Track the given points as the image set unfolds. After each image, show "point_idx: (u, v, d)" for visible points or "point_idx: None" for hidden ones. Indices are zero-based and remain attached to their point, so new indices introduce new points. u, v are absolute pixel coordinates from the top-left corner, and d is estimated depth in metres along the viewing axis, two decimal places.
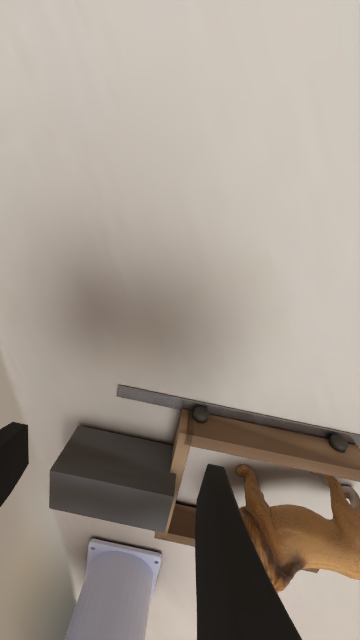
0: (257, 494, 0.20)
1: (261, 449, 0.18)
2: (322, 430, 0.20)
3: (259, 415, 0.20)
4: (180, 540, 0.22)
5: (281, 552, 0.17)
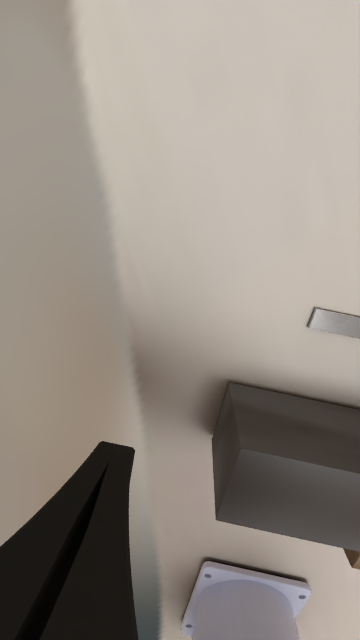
0: None
1: None
2: None
3: None
4: None
5: None
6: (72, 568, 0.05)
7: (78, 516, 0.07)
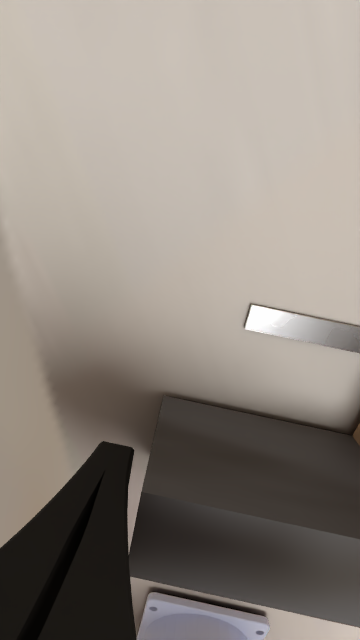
0: None
1: None
2: None
3: None
4: None
5: None
6: (70, 568, 0.05)
7: (79, 516, 0.07)
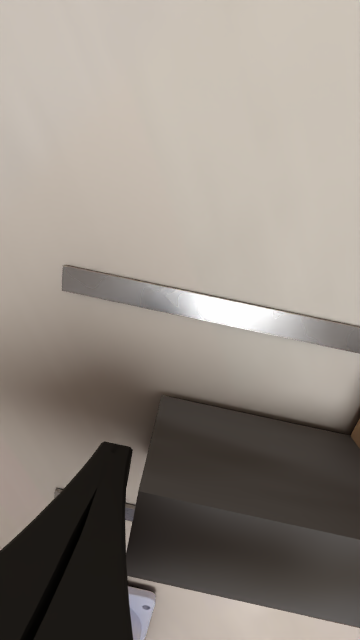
0: None
1: None
2: None
3: None
4: None
5: None
6: (68, 567, 0.05)
7: (81, 517, 0.07)
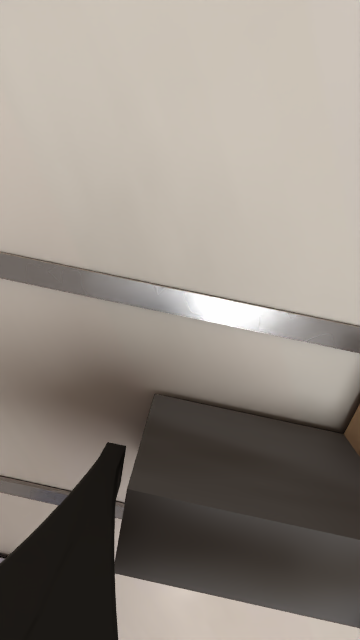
0: None
1: None
2: None
3: (242, 303, 0.10)
4: None
5: None
6: (55, 564, 0.05)
7: (90, 519, 0.07)
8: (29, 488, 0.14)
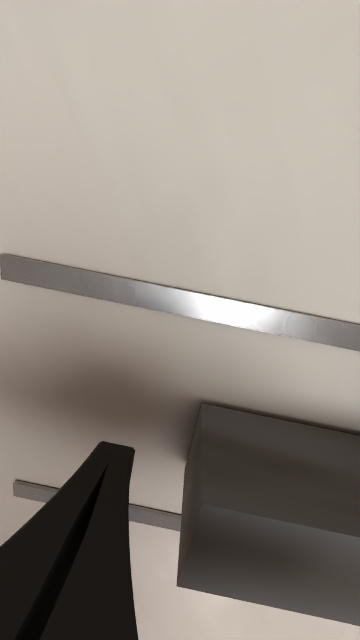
0: None
1: None
2: None
3: (297, 313, 0.10)
4: None
5: None
6: (72, 568, 0.05)
7: (78, 516, 0.07)
8: None
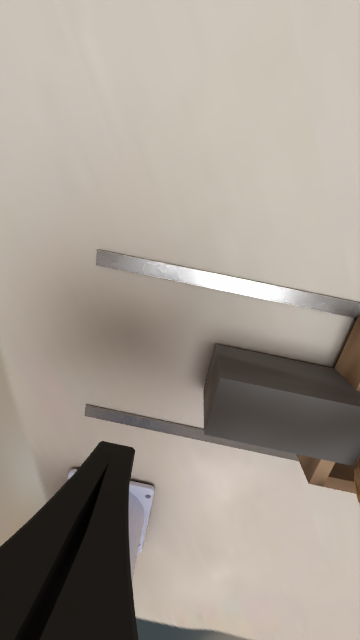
0: None
1: None
2: (352, 303, 0.16)
3: (273, 285, 0.16)
4: (342, 486, 0.18)
5: None
6: (72, 568, 0.05)
7: (78, 516, 0.07)
8: (123, 415, 0.21)
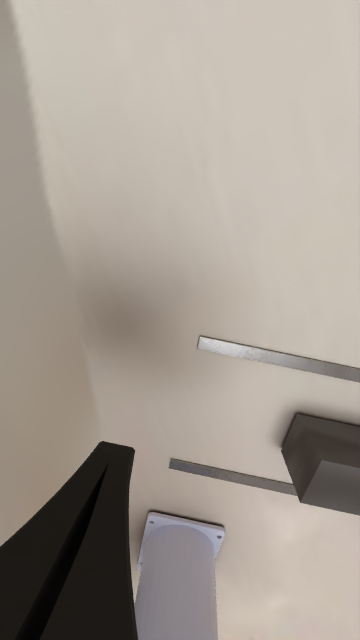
0: None
1: None
2: None
3: (354, 368, 0.19)
4: None
5: None
6: (72, 568, 0.05)
7: (78, 516, 0.07)
8: (204, 468, 0.23)
